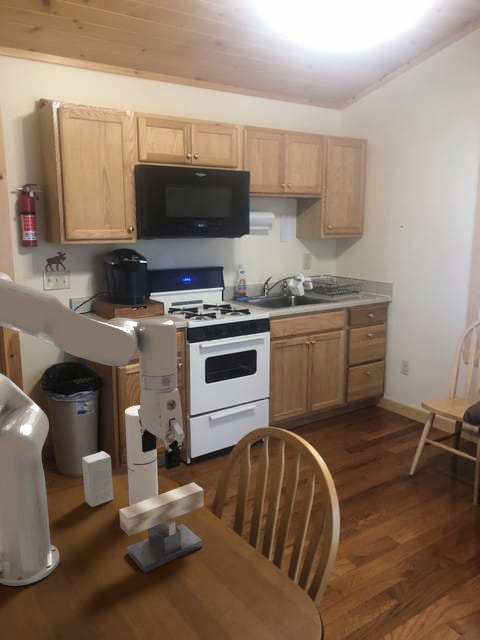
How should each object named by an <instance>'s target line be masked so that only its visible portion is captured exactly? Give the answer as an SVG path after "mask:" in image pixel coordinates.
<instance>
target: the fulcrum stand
mask: <svg viewBox="0 0 480 640" xmlns="http://www.w3.org/2000/svg"><path fill="white" fill-rule="evenodd" d="M147 530H148V532H147V533H148V538H145V539H142V540H140V541H138V542H136V543H133V544H131V545H128V546H126V554H127V555H128V556H129V557H130V558H131V559H132V561H133V562H134V563H135V564H136V565H137V566H138V567H139V568H140V570H141V571H143V573H144V574H146V573H147V572H150V571H151V570H155V569H156V568H158V567H162V566H163V565H164V564H167V563H169V562H171V561H174V560H176V559H178V558H180V557H182V556H184V555H186V554H189V553H191V552H193V551H196V550H197V549H200V548H201V547H203V539H201V537H199V535H197V534H195V532H193V531H192V530H191V529H190V528H188V527H187V526H186V525H185V524H184V523H180V524H178V525H176V521H174V520H173V519H171V520H168V521H166V522H163V523H161V524H158V525H156V526H154V527H151V528H149V529H147Z"/></svg>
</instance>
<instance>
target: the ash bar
mask: <svg viewBox="0 0 480 640" xmlns="http://www.w3.org/2000/svg"><path fill="white" fill-rule="evenodd" d="M204 503H205V502H204V488H202V487H201V486H199V484H196V483H195V482H194V481H192V482H190V483H188V484H185V485H182V486H180V487H177V488H174V489H171V490H169V491H166V492H164V493H161V494H158V496H155V497H152V498H150V499H147V500H144V501H141V502H139V503H136V504H133V505H131V506H130V505H129V506H126V507H123V508H120V509H119V523H120V524H119V527H120V529H121V530H122V531H124V533H125V534H126V535H127V536H128V537H131V536H133V535H136V534H138V533H141V532H144V531H146V530H148V529H149V528H151V527H154V526H156V525H158V524H161V523H163V522H166V521H168V520H171V519H172V520H173V519H176V518H178V517H180V516H183V515H185V514H188V513H190V512H192V511H194V510H195V511H196V510H197V509H199V508H202V507H204V506H205V505H204Z"/></svg>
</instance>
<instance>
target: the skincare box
mask: <svg viewBox="0 0 480 640" xmlns="http://www.w3.org/2000/svg"><path fill="white" fill-rule="evenodd" d="M81 464H82V475H83V487H84V500H85V502H86V503H87V504H88V506H90V507H91V508H95V507H97V506H99V505H102V504H105V503H108V502H110V501H113V500H114V487H113V472H112V457H111V455H110V454H108V453H107V452H105V451H103V450H101V451H100V452H99V451H98V452H96V453H93V454H89V455H87V456H82V458H81Z"/></svg>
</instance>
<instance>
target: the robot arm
mask: <svg viewBox="0 0 480 640" xmlns="http://www.w3.org/2000/svg"><path fill="white" fill-rule="evenodd" d="M0 327H3V328H6V329H10V330H13V331H17V332H20V333H23V334H26V335H29V336H32V337H36V338H38V339H40V340H42V341H44V342H46V343H47V344H49V345H51V346H53V347H55V348H57V349H58V350H61V351H63V352H65V353H67V354H70V355H72V356H75V357H78V358H82V359H83V360H88V361H91V362H94V363H97V364H101V365H105V366H111V367H119V366H124V365H126V364H128V363H130V362H131V361H132V360H133V359H134V357H135V356H136V355H137V353H138V359H139V360H138V361H139V363H138V366H139V388H140V402H139V405H140V409H138V415H139V423H140V425H141V429H140V431H141V433H142V451H143V452H144V453H145V452H148V451H152V450H155V449H156V450H157V438H158V439H160V440H162V441H163V442H164V445H165V448H166V450H164V466H165V467H164V468H165V470H168V471H169V470H171V469H174V468H178V467H180V466H181V449H182V446H183V445H184V439H185V432H184V430H183V425H184V424H183V411H182V401H181V396H180V395H181V394H180V392H179V388H178V386H179V385H178V345H177V343H178V342H177V341H178V340H177V339H178V338H177V335H178V334H177V333H178V332H177V325H176V323H175V322H174V321H173V320H171V319H169V318H162V317H161V318H159V317H158V318H156V317H155V318H148V319H137V318H130V317H114V318H111V319H108V320H107V321H105V322H103V321H102V322H101V321H100V320H97V319H93V318H90V317H88V316H85V315H82V314H80V313H78V312H77V311H75V310H73V309H71V308H70V307H69V306H67V304H65V303H64V301H62V300H61V299H60V298H59V297H57V296H56V295H54V294H51V293H50V292H49V293H48V292H45V291H41V290H39V289H36V288H32V287H29V286H26V285H23V284H20V283H16V282H14V280H13V279H12V278H11V277H10V276H9V274H7V273H4V272H3V271H0ZM49 424H50V423H49V418H48V416H47V414H46V413H45V412H44V410H42V408H41V407H40V406H39V405H38V404H37V403H36V402H35V401H34V400H33V399H31V398H30V397H29V396H28V395H27V394H26V393H25V392H24V391H23V390H22V389H21V388H20V387H18V385H17V384H16V383H14V382H13V381H12V380H11V379H10V378H9V377H7V376H6V375H4V374H2V372H0V584H2V585H6V586H10V587H12V586H13V587H17V586H26V585H30V584H34V583H35V582H39V581H41V580H42V579H43V578H46V577H47V576H49V575H50V574H51V573H52V572H53V571H55V570H56V568H57V567H58V565H59V563H60V551H59V550H58V548H57V547H56V546H54V545H53V544H51V535H50V534H51V533H50V522H49V510H48V498H47V487H46V486H47V485H46V479H45V471H44V467H43V461H42V450H43V447H44V444H45V442H46V439H47V437H48V433H49V428H50V425H49ZM170 439H173V441H172V442H171V441H170Z"/></svg>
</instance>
